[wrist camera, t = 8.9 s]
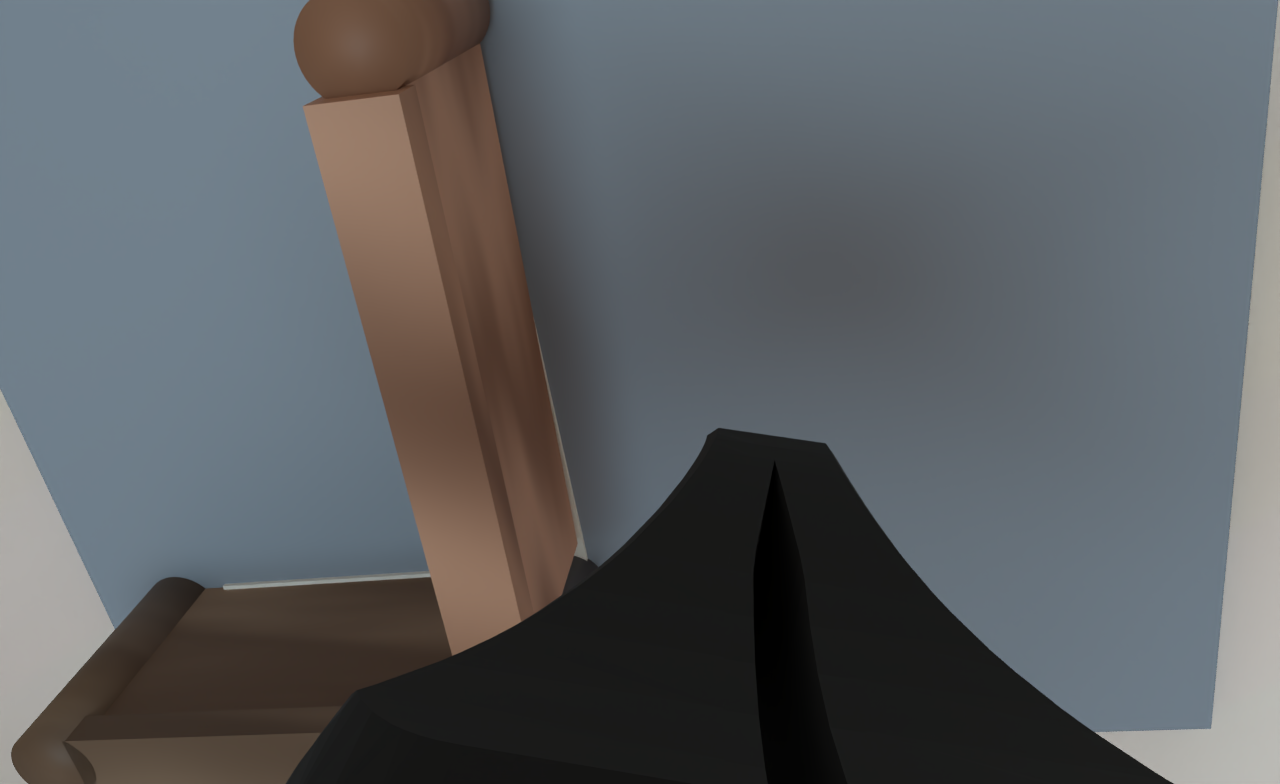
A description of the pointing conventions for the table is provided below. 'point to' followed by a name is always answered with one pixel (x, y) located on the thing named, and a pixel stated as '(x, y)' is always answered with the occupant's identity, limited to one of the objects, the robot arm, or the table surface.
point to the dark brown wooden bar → (231, 680)
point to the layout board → (681, 294)
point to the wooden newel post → (442, 297)
